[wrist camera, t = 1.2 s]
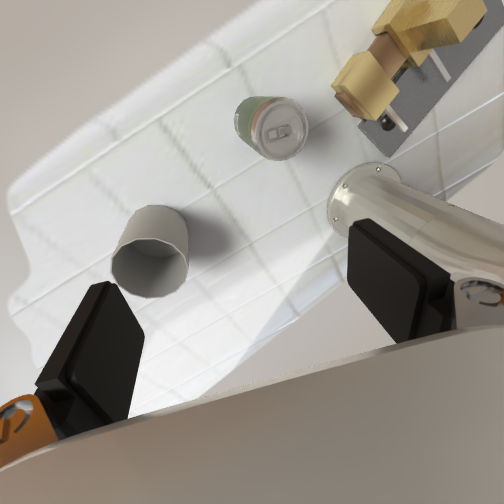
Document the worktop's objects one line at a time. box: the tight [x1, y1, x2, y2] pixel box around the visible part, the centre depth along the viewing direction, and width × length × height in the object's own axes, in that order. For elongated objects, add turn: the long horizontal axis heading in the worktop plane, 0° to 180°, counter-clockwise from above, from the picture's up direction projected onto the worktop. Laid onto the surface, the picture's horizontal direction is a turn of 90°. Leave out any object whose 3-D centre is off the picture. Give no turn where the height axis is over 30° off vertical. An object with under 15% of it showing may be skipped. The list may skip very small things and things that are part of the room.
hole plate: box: [357, 0, 504, 157], centre depth 34 cm, size 7×20×1 cm, turn 144°
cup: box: [110, 205, 189, 299], centre depth 34 cm, size 8×8×10 cm
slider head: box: [372, 0, 488, 82], centre depth 29 cm, size 11×4×9 cm, turn 54°
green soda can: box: [234, 97, 309, 161], centre depth 28 cm, size 5×5×12 cm
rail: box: [331, 31, 408, 132], centre depth 31 cm, size 11×21×3 cm, turn 144°
